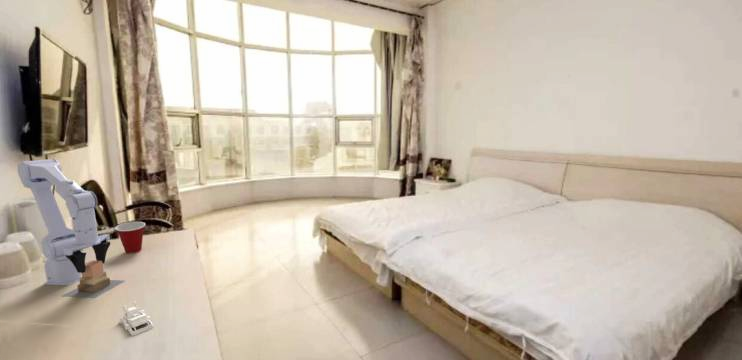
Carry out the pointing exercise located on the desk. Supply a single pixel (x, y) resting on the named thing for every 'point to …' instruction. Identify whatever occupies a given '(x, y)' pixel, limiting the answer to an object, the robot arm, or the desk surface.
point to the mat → (93, 295)
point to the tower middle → (92, 279)
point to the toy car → (135, 319)
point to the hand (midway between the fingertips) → (91, 267)
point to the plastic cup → (131, 236)
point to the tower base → (94, 286)
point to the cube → (93, 269)
